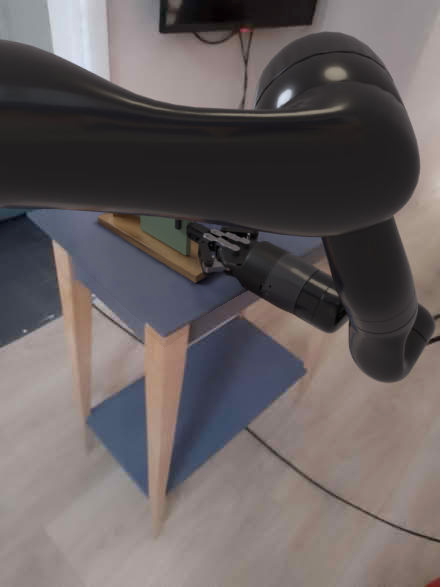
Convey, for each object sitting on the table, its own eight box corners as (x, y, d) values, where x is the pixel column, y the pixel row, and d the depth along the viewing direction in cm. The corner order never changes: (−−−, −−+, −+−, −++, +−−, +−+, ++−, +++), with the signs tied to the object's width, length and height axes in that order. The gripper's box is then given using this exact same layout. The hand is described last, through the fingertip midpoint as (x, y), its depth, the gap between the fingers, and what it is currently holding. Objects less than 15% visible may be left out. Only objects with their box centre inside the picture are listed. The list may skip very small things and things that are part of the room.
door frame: (195, 283, 63) (203, 170, 50) (98, 223, 74) (84, 117, 61) (226, 262, 68) (240, 154, 55) (131, 209, 79) (124, 108, 66)
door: (182, 257, 65) (186, 172, 55) (137, 230, 70) (133, 148, 60) (190, 252, 66) (195, 169, 56) (145, 226, 71) (142, 145, 61)
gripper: (309, 237, 57) (217, 193, 64) (257, 277, 48) (158, 222, 56) (298, 277, 61) (213, 232, 69) (248, 320, 53) (159, 264, 61)
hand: (189, 228), depth 62 cm, fingers closed
